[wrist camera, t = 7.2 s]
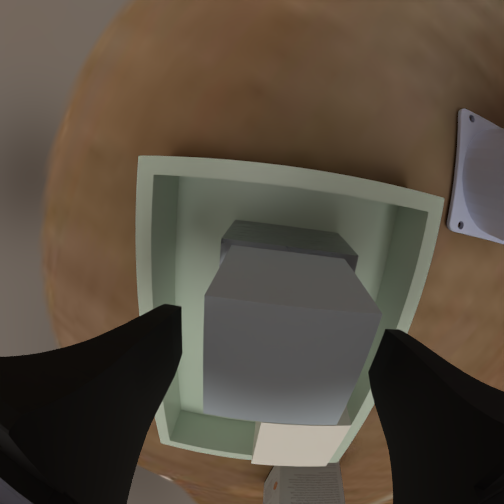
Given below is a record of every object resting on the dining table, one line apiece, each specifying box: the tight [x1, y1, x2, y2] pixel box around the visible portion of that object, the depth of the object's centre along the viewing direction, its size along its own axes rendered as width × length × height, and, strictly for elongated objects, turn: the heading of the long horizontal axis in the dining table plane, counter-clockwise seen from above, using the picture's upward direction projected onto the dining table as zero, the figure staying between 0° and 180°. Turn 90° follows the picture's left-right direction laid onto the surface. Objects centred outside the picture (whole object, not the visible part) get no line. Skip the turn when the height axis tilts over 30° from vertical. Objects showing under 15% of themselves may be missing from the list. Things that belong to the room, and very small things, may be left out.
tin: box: [219, 220, 359, 273], centre depth 13 cm, size 6×6×4 cm
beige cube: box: [251, 405, 351, 466], centre depth 16 cm, size 5×5×5 cm
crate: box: [136, 156, 445, 463], centre depth 15 cm, size 14×20×4 cm
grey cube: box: [203, 245, 382, 425], centre depth 9 cm, size 4×4×4 cm
